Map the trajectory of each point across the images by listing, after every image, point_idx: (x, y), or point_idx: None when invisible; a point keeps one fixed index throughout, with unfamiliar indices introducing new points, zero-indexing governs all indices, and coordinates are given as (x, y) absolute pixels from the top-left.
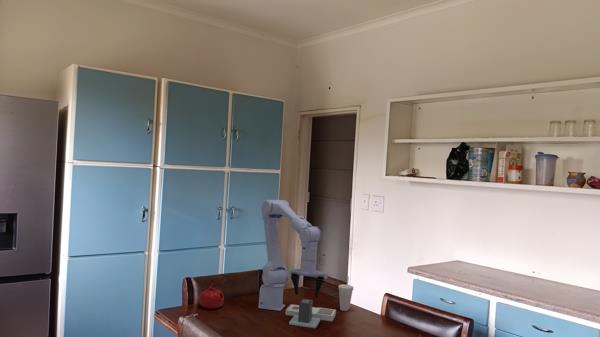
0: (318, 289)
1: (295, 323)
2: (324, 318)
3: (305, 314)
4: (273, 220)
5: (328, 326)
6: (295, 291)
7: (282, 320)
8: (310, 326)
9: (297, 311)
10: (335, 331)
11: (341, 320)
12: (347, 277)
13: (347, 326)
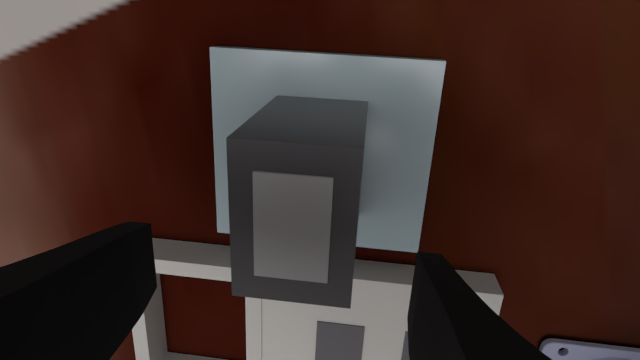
0: (14, 265)
1: (385, 57)
2: (192, 248)
3: (298, 112)
4: None
5: (139, 123)
6: (449, 274)
7: (507, 141)
8: (256, 48)
9: (401, 290)
10: (64, 29)
11: None
12: None
13: (25, 168)
